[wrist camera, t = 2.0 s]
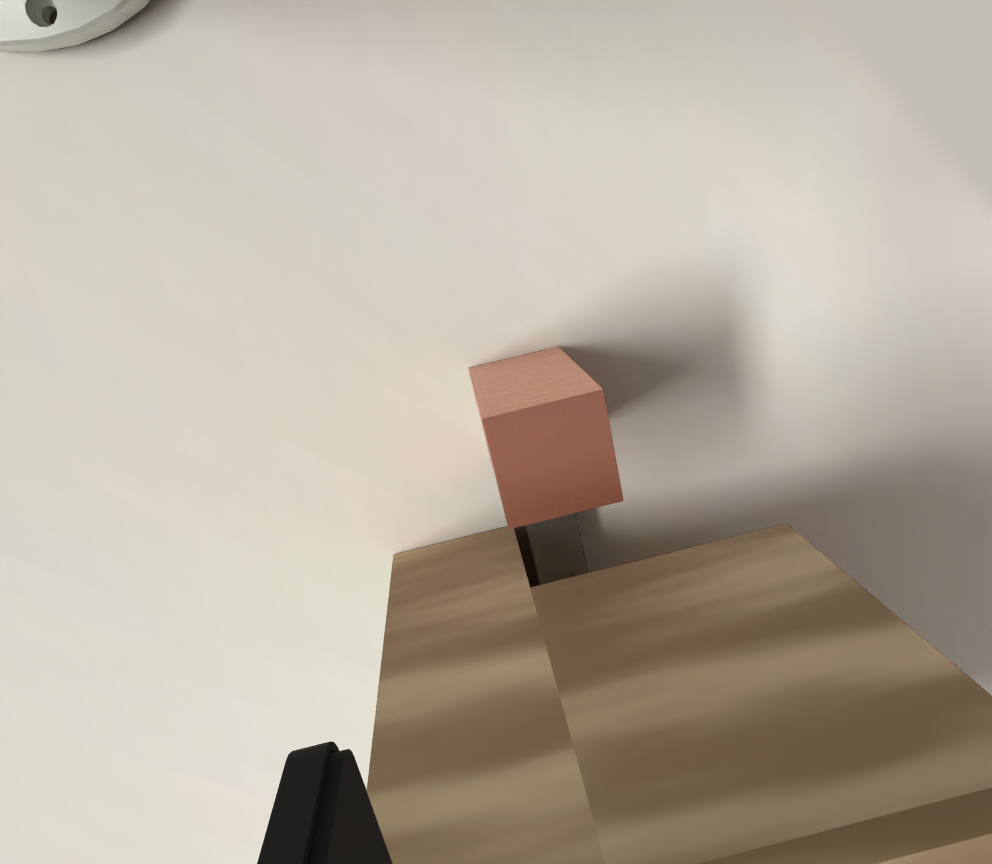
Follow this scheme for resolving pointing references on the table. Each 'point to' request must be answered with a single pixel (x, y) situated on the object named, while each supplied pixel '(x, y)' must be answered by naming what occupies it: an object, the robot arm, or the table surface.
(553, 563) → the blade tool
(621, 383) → the table surface
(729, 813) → the oak bench cabinet
